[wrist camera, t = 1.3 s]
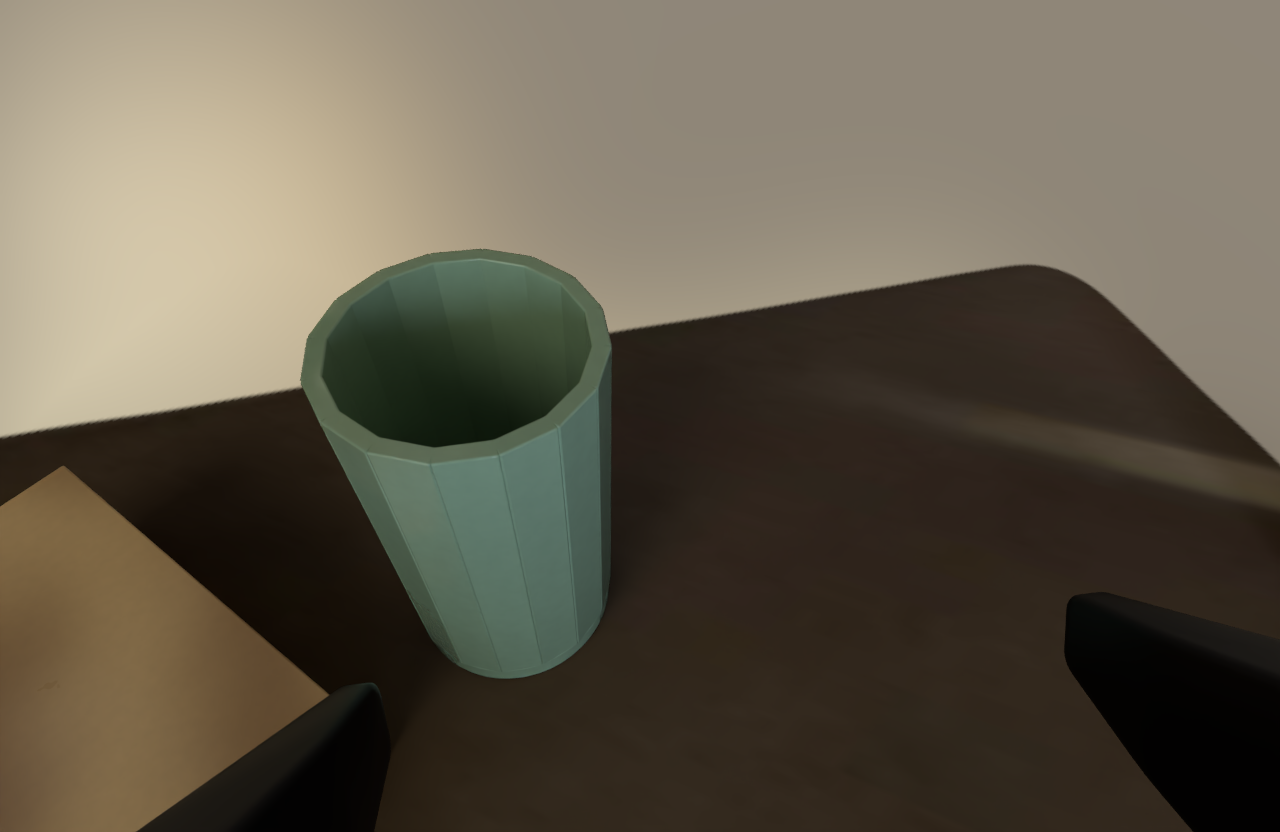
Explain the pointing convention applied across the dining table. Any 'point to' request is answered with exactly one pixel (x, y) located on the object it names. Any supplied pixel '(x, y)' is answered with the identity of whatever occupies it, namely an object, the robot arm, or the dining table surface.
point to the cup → (477, 447)
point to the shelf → (119, 670)
